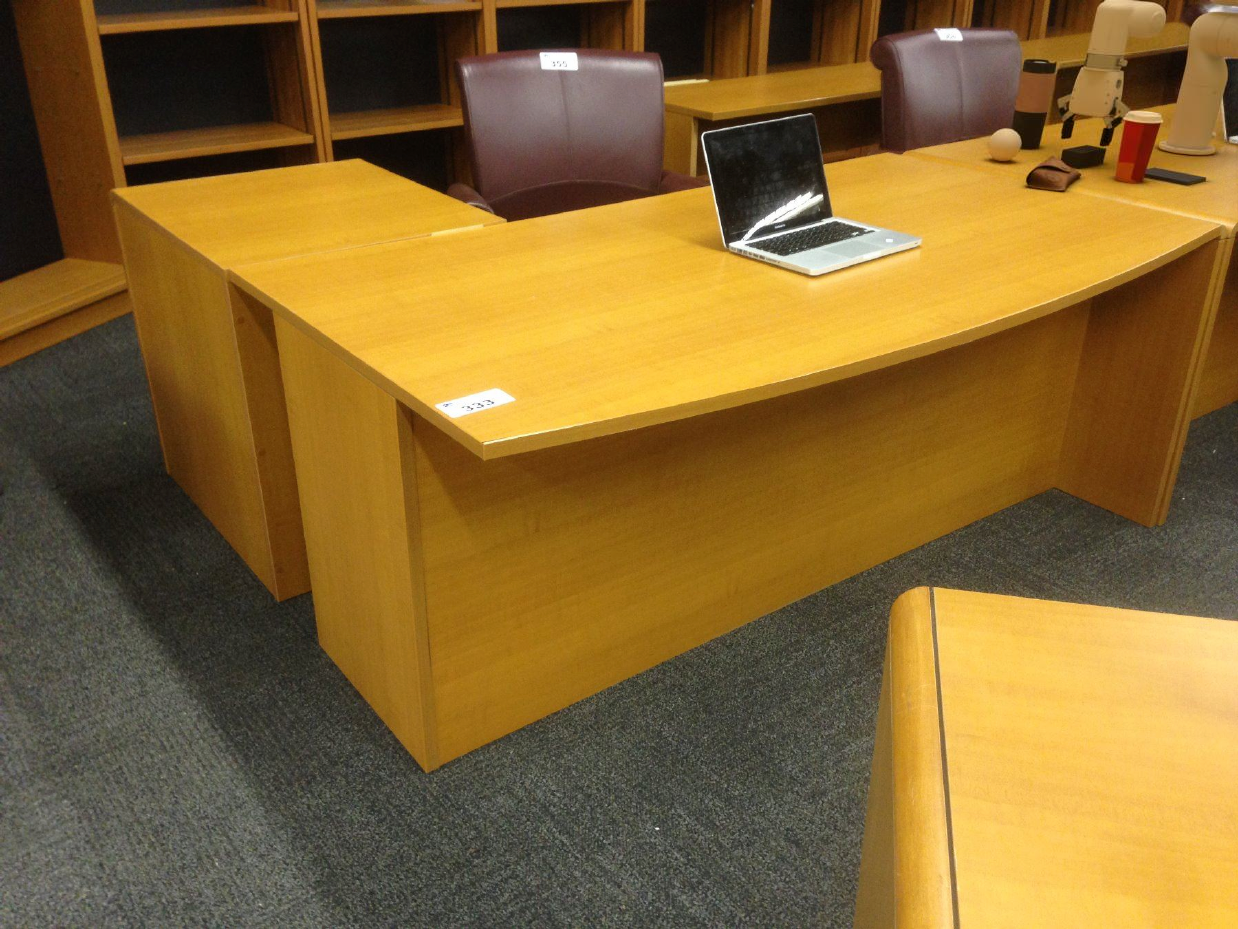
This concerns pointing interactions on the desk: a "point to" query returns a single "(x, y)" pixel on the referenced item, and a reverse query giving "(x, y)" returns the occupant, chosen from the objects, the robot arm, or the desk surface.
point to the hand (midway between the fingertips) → (1084, 142)
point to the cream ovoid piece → (1004, 145)
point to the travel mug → (1033, 101)
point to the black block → (1083, 156)
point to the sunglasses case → (1052, 175)
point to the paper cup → (1137, 145)
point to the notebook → (1173, 176)
